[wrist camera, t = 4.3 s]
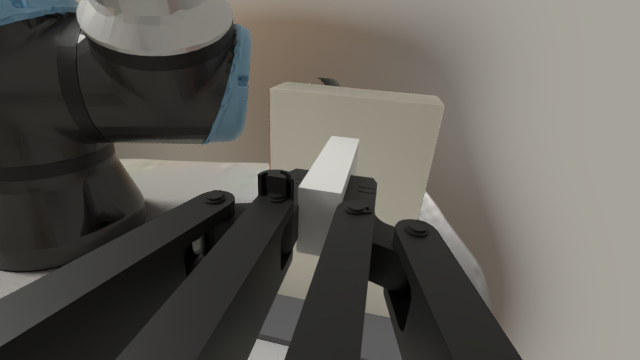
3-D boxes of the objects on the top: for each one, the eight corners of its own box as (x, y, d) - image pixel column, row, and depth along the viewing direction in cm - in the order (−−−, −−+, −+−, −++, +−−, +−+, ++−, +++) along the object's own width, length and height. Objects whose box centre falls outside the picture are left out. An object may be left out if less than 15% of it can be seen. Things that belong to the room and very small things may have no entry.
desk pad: (429, 379, 22) (430, 374, 22) (224, 330, 25) (223, 325, 25) (410, 205, 45) (411, 201, 45) (305, 189, 48) (305, 185, 48)
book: (395, 318, 26) (444, 106, 18) (270, 292, 28) (268, 88, 20) (394, 288, 29) (437, 96, 21) (283, 266, 31) (284, 81, 23)
